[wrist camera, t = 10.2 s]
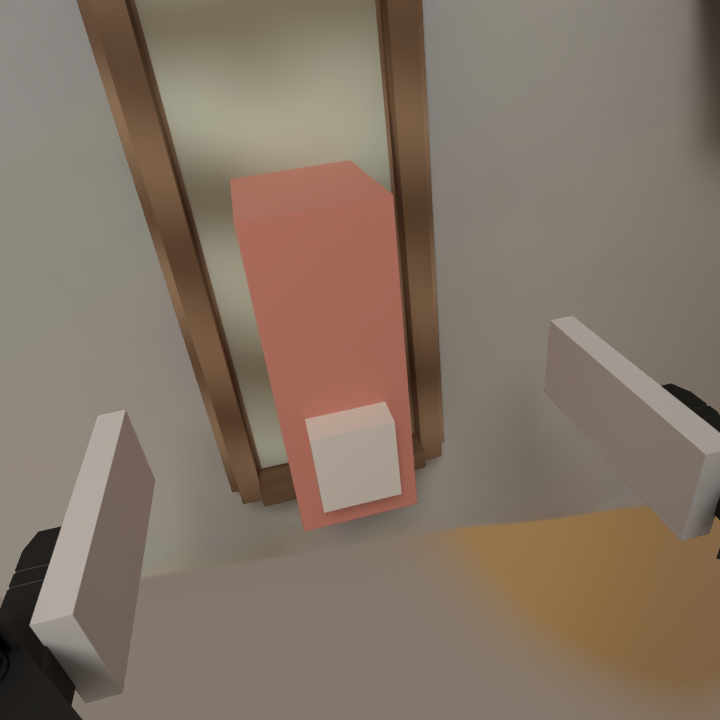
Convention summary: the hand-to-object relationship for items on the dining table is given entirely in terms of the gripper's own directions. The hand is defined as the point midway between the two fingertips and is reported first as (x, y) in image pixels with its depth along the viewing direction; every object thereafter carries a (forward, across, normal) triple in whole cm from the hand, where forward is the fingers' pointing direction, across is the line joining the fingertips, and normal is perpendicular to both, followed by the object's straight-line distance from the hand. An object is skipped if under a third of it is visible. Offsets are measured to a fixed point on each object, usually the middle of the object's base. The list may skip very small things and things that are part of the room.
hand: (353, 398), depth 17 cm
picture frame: (+8, 0, +4) cm, 9 cm away
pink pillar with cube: (+7, 0, 0) cm, 7 cm away
